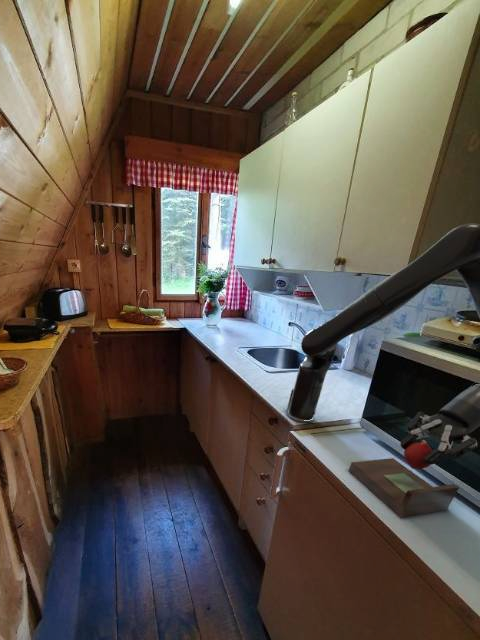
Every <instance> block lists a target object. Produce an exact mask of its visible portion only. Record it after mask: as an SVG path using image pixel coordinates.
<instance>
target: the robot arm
mask: <svg viewBox="0 0 480 640" xmlns="http://www.w3.org/2000/svg"><path fill="white" fill-rule="evenodd" d="M453 272H456V273H457V274H458V275H459V277H460V278H461V280H462V281H463V283H464V284H465V286H466V288H467V290H468V292H469V295H470V297H471V299H472V302H473V305H474V307H475V311H476V312H477V315H478V317H479V319H480V224H479V223H464V224H461V225H459V226H456V227H454V228H453V229H451V230H449V231H448V232H447V233H446V234H445V235H443V236H442V237H441V238H440V239H439V240H437V242H436V243H434V244H433V245H432V246H431V247H429V248H428V249H427V250H426V251H425V252H423V253H422V254H421V255H420V256H418V257H417V258H416V259H414V260H413V261H412V262H411V263H408V264H407V265H406V266H404V267H402V268H401V269H399V270H397V271H395V272H394V273H392V274H391V275H389V276H388V277H386V278H384V279H382V280H381V281H380V282H379V283H377V284H375V285H374V286H372V287H371V288H370V289H368V290H367V291H365V292H364V293H363V294H362V295H360V296H359V297H358V298H356V299H355V300H354V301H352V302H351V303H350V304H348V305H347V306H346V307H345V308H343V309H342V310H341V311H340V312H338V314H336V315H334V316H333V317H332V318H330V319H329V320H327V321H326V322H324V323H322V324H320V325H318V326H316V327H315V328H313V329H311V330H309V331H308V332H307V333H305V335H304V336H303V338H302V340H301V342H300V348H301V351H302V352H303V354H304V355H305V357H304V359H303V360H302V361H301V362H300V364H299V366H298V371H297V374H296V377H295V381H294V385H293V388H292V389H291V391H290V395H289V400H288V403H287V408H286V412H287V413H286V414H287V416H288V417H289V418H290V419H292V420H294V421H296V422H300V423H305V424H306V423H312V422H313V421H314V418H315V414H316V412H317V407H318V404H319V401H320V396H321V393H322V389H323V386H324V383H325V379H326V375H327V373H328V372H329V370H330V368H331V366H332V363H333V360H334V357H335V354H336V351H337V347H338V343H340V342H341V341H342V340H344V339H346V338H347V337H349V336H351V335H353V334H355V333H358V332H360V331H362V330H364V329H367V328H369V327H371V326H373V325H375V324H377V323H379V322H381V321H382V320H384V319H385V318H388V317H389V316H390V315H392V314H393V313H395V312H396V311H398V310H400V309H401V308H403V307H404V306H405V305H407V304H408V303H409V302H410V301H411V300H413V299H415V297H417V296H418V295H419V294H420V293H421V292H423V290H425V289H426V288H427V287H429V286H430V285H432V284H434V283H435V282H437V281H439V280H440V279H442V278H444V277H446V276H448V275H449V274H452V273H453ZM472 385H473V384H472ZM472 385H470V386H468V388H466V389H464V390H463V391H462V392H460V393H459V394H457V395H456V396H455V397H454V398H453V399H451V401H449V402H448V403H446V404H445V405H444V406H443V407H442V408H440V409H439V411H438V412H437V413H436V414H433V415H431V416H429V415H428V414H425V413H424V412H423V411H418V412H417V413H416V415H415V416H413V418H412V419H411V420H410V422H408V424H407V425H406V427H405V428H406V430H407V432H408V434H407V435H406V436H405V437H404V438H403V439H402V440H400V447H401V449H403V450H404V451H405V450H406V448H407V447H408V446H409V445H411V444H413V443H417V440H419V439H424V438H429V437H432V438H436V439H438V440H439V442H440V443H439V445H438V448H435V449H433V450H432V452H431V453H430V454H429V455H427V456H426V457H425V458H424V459H423V460H424V463H425V464H427V465H430V464H431V465H430V466H432V465H434V464H436V463H437V462H438V461H440V459H443V457H444V458H445V457H448V458H450V459H451V460H457V459H458V458H460V457H462V456H464V455H466V454H468V453H470V452H472V451H473V450H475V449H477V448H478V447H479V445H478V441H477V439H476V438H475V437H471V436H469V434H471V433H472V432H474V431H475V430H476V429H477V428H479V427H480V384H475V385H473V386H472ZM313 417H314V418H313ZM312 418H313V420H310V419H312ZM304 420H310V421H304ZM426 422H427V423H426ZM459 441H461V442H460V443H458V444H457V445H454V446H453V443H454V442H459ZM452 446H453V447H452Z"/></svg>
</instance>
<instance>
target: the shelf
mask: <svg viewBox="0 0 480 640" xmlns="http://www.w3.org/2000/svg"><path fill="white" fill-rule="evenodd" d="M348 472H349V473H350V474H351V475H352V476H354V477H355V478H356V479H357V480H358V481H359V482H360V483H361V484H362V485H364V487H366V488H367V489H368V490H369V491H370V492H371V493H372V494H373V495H375V496H376V497H377V498H378V499H379V500H380V501H381V502H382V503H383V504H384V505H386V506H387V507H388V508H389V509H390V510H391V511H393V513H395V514H396V515H397V516H398V517H399V518H406V517H413V516H419V515H424V514H430V513H435V512H436V513H437V512H441V511H446V510H448V509H449V507H450V505H451V503H452V501H453V500H454V498H455V497H456V494H457V492H458V491H459V489H460V486H458V484H457V485H456V484H455V483H453V484H452V483H451V484H445V485H437V486H433V485H432V484H430V483H429V482H428V481H426V480H424V479H423V478H422V477H421V476H419V475H418V474H416V473H414V472H413V471H412V470H411V469H409V468H408V467H406V466H405V465H403V464H402V463H401V462H399V461H398V460H397V459H395V458H394V457H392V458H380V459H370V460H369V459H368V460H361V461H360V460H359V461H352V462H351V463H350V465H349V468H348Z"/></svg>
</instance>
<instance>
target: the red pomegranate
mask: <svg viewBox="0 0 480 640" xmlns="http://www.w3.org/2000/svg"><path fill="white" fill-rule="evenodd" d="M432 451H433V449H432V448H431V447H430V445H429V444H428V443H427V441H426V440H424V439H423V440H420V442H414V443H413V444H411V445H409V446H408V447H407V448H406V450H404V452H403V455H404V459H405V461H406V463H408V465H409V466H410V468H412V469H414V470H420V469H421V470H422V469H427V468H428V467H430V466H432V465H431V464H430V465H427V464H425V463H424V460H423V459H424V458H425V457H426V456H427V455H429V454H430V453H431V452H432Z"/></svg>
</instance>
